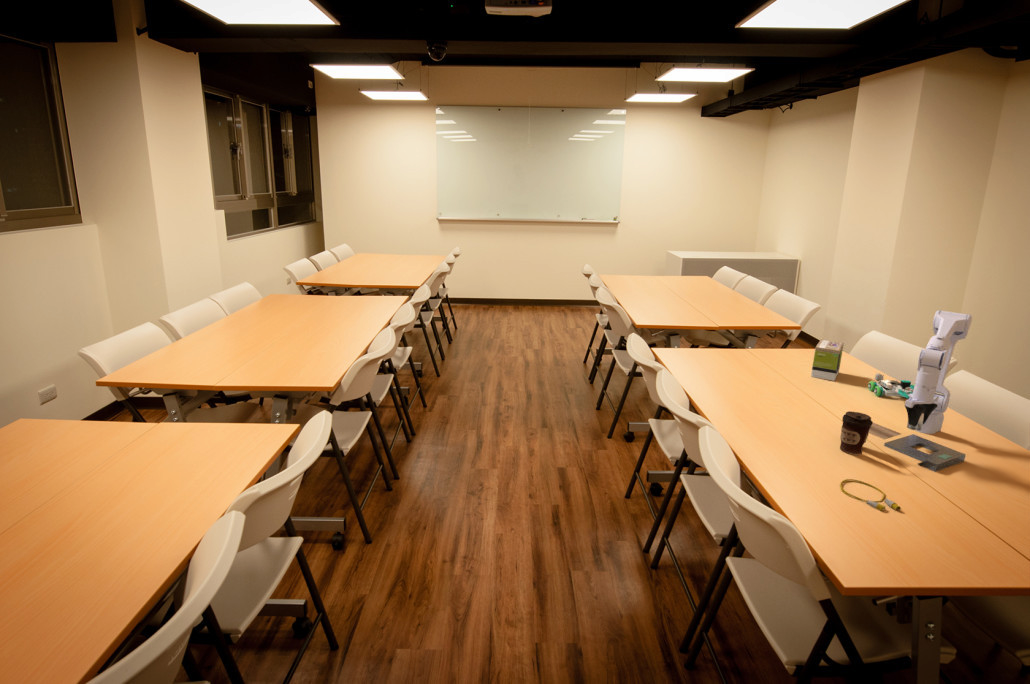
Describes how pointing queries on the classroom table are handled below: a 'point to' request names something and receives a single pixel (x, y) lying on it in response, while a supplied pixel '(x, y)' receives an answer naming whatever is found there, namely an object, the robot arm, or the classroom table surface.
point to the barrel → (919, 425)
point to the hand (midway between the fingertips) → (916, 423)
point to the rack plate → (930, 461)
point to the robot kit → (890, 387)
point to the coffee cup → (854, 432)
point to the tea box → (827, 360)
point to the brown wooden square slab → (882, 431)
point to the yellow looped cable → (872, 503)
